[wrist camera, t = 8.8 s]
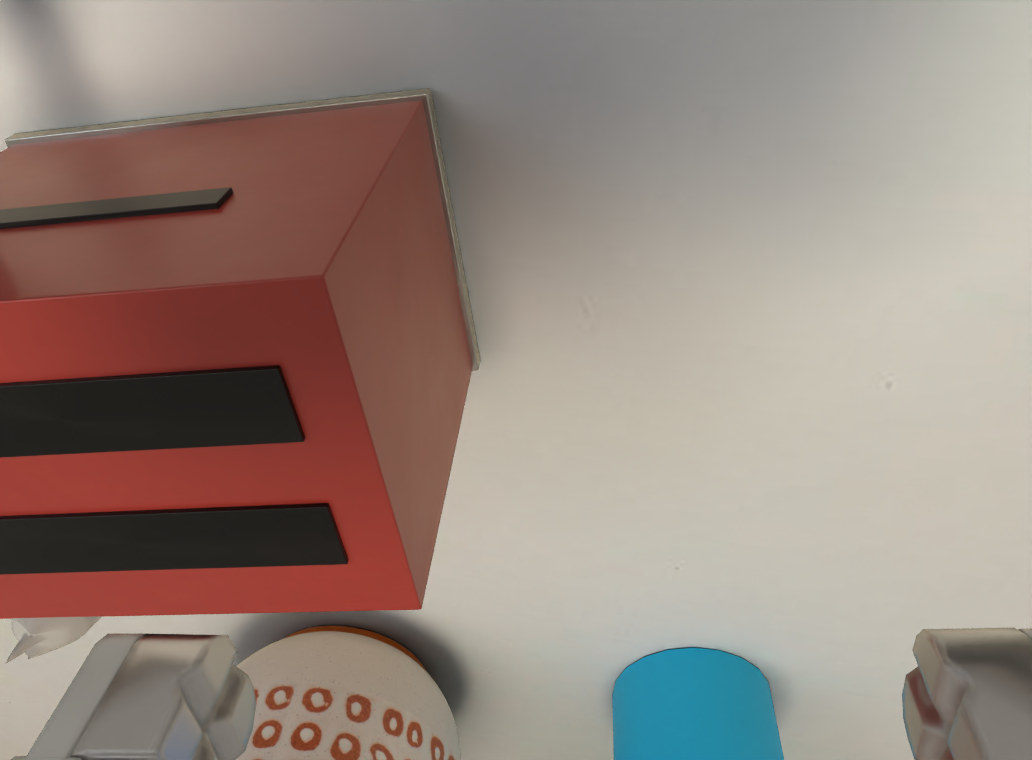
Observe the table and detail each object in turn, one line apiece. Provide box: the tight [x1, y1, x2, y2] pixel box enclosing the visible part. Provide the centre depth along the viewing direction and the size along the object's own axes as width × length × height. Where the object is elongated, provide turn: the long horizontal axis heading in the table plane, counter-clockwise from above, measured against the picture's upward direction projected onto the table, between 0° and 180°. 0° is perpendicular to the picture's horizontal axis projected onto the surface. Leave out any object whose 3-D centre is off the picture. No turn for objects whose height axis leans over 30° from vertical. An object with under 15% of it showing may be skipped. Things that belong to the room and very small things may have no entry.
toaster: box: [0, 88, 480, 619], centre depth 24 cm, size 10×14×12 cm
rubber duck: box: [6, 616, 101, 663], centre depth 35 cm, size 5×7×8 cm
